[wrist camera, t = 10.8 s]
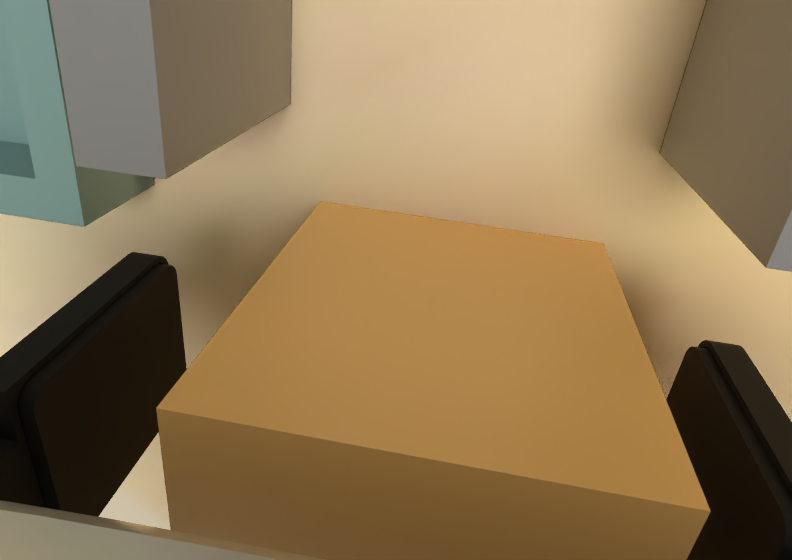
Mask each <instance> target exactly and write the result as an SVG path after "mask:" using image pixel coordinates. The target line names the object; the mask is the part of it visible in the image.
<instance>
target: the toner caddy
mask: <svg viewBox="0 0 792 560" xmlns="http://www.w3.org/2000/svg"><path fill="white" fill-rule="evenodd" d="M156 411H157V419H158V427H159V436H160V444H161V452H162V460H163V469H164V477H165V485H166V494H167V502H168V510H169V518H170V527H171V530H172V531H177V532H182V533H188V534H193V535H198V536H204V537H209V538H214V539H220V540H225V541H230V542H236V543H241V544H246V545H252V546H257V547H262V548H268V549H273V550H278V551H283V552H288V553H294V554H299V555H304V556H309V557H314V558H320V559H325V560H687V558H688V556H689V554H690V552H691V550H692V548H693V546H694V544H695V542H696V540H697V538H698V536H699V534H700V532H701V530H702V528H703V526H704V524H705V522H706V520H707V518H708V516H709V514H710V512H711V511H710V508H709V506H708V503H707V501H706V498H705V496H704V493H703V491H702V488H701V486H700V483H699V481H698V478H697V476H696V473H695V471H694V468H693V466H692V463H691V461H690V458H689V456H688V453H687V451H686V448H685V446H684V443H683V441H682V438H681V436H680V433H679V431H678V428H677V426H676V423H675V421H674V418H673V416H672V413H671V411H670V408H669V406H668V403H667V401H666V398H665V396H664V393H663V391H662V388H661V386H660V383H659V381H658V378H657V376H656V373H655V371H654V368H653V366H652V363H651V361H650V358H649V356H648V353H647V351H646V348H645V346H644V343H643V341H642V338H641V336H640V333H639V331H638V328H637V326H636V323H635V321H634V318H633V316H632V313H631V311H630V308H629V306H628V303H627V301H626V298H625V296H624V293H623V291H622V288H621V286H620V283H619V281H618V278H617V276H616V273H615V271H614V268H613V266H612V263H611V261H610V258H609V256H608V253H607V251H606V248H605V246H604V244H603V243H596V242H589V241H583V240H576V239H569V238H563V237H556V236H549V235H542V234H536V233H529V232H522V231H516V230H509V229H502V228H496V227H489V226H482V225H475V224H469V223H462V222H455V221H449V220H442V219H435V218H428V217H422V216H415V215H408V214H402V213H395V212H388V211H382V210H375V209H368V208H361V207H355V206H348V205H341V204H335V203H328V202H320V203H319V204H318V205H317V207H316V208H315V209H314V210H313V212H312V213H311V214H310V215H309V217H308V218H307V219H306V220H305V222H304V223H303V224H302V225H301V227H300V228H299V229H298V230H297V232H296V233H295V234H294V235H293V237H292V238H291V239H290V240H289V242H288V243H287V244H286V246H285V247H284V248H283V249H282V251H281V252H280V253H279V254H278V256H277V257H276V258H275V259H274V261H273V262H272V263H271V264H270V266H269V267H268V268H267V269H266V271H265V272H264V273H263V274H262V276H261V277H260V278H259V279H258V281H257V282H256V283H255V284H254V286H253V287H252V288H251V289H250V291H249V292H248V293H247V295H246V296H245V297H244V298H243V300H242V301H241V302H240V303H239V305H238V306H237V307H236V308H235V310H234V311H233V312H232V313H231V315H230V316H229V317H228V318H227V320H226V321H225V322H224V323H223V325H222V326H221V327H220V328H219V330H218V331H217V332H216V333H215V335H214V336H213V337H212V339H211V340H210V341H209V342H208V344H207V345H206V346H205V347H204V349H203V350H202V351H201V352H200V354H199V355H198V356H197V357H196V359H195V360H194V361H193V362H192V364H191V365H190V366H189V367H188V369H187V370H186V371H185V372H184V374H183V375H182V376H181V377H180V379H179V380H178V381H177V382H176V384H175V385H174V386H173V388H172V389H171V390H170V391H169V393H168V394H167V395H166V396H165V398H164V399H163V400H162V401H161V403H160V404H159V405H158V406H157V408H156Z"/></svg>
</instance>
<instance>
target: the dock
mask: <svg viewBox="0 0 792 560" xmlns="http://www.w3.org/2000/svg"><path fill="white" fill-rule="evenodd" d="M49 4H50V10H51V16H52V22H53V28H54V34H55V40H56V46H57V52H58V58H59V64H60V70H61V76H62V83H63V89H64V95H65V101H66V107H67V113H68V119H69V125H70V131H71V137H72V143H73V149H74V155H75V162H76V166H80V167H86V168H93V169H100V170H107V171H114V172H120V173H127V174H134V175H141V176H147V177H154V178H161V179H167V178H169V177H170V176H172V175H174V174H175V173H177V172H179V171H180V170H182V169H184V168H185V167H187V166H189V165H190V164H192V163H194V162H195V161H197V160H199V159H200V158H202V157H204V156H205V155H207V154H208V153H210V152H212V151H213V150H215V149H217V148H218V147H220V146H222V145H223V144H225V143H227V142H228V141H230V140H232V139H233V138H235V137H237V136H238V135H240V134H242V133H243V132H245V131H246V130H248V129H250V128H251V127H253V126H255V125H256V124H258V123H260V122H261V121H263V120H265V119H266V118H268V117H270V116H271V115H273V114H275V113H276V112H278V111H280V110H281V109H283V108H285V107H286V106H288V105H289V104H290V100H291V10H292V0H49ZM660 154H661V155H662V156H663V157H664V158H665V159H666V160H667V161H668V162H669V163H670V165H671V166H672V167H673V168H674V169H675V170H676V171H677V172H678V173H679V174H680V175H681V176H682V178H683V179H684V180H685V181H686V182H687V183H688V184H689V185H690V186H691V187H692V188H693V189H694V191H695V192H696V193H697V194H698V195H699V196H700V197H701V198H702V199H703V200H704V201H705V202H706V204H707V205H708V206H709V207H710V208H711V209H712V210H713V211H714V212H715V213H716V214H717V215H718V216H719V218H720V219H721V220H722V221H723V222H724V223H725V224H726V225H727V226H728V227H729V228H730V229H731V231H732V232H733V233H734V234H735V235H736V236H737V237H738V238H739V239H740V240H741V241H742V242H743V244H744V245H745V246H746V247H747V248H748V249H749V250H750V251H751V252H752V253H753V254H754V255H755V257H756V258H757V259H758V260H759V261H760V262H761V263H762V264H763V265H764V266H765V267H766V268H770V269H777V270H784V271H791V272H792V0H707V3H706V6H705V9H704V13H703V16H702V19H701V22H700V25H699V29H698V32H697V35H696V38H695V41H694V45H693V48H692V51H691V54H690V57H689V61H688V64H687V67H686V70H685V73H684V77H683V80H682V83H681V86H680V89H679V93H678V96H677V99H676V102H675V105H674V109H673V112H672V115H671V118H670V121H669V125H668V128H667V131H666V134H665V138H664V141H663V144H662V147H661V150H660Z"/></svg>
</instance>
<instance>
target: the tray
mask: <svg viewBox="0 0 792 560" xmlns="http://www.w3.org/2000/svg"><path fill="white" fill-rule="evenodd" d="M153 185H154V178H153V177H147V176H141V175H134V174H127V173H120V172H114V171H107V170H100V169H93V168H86V167H80V166H76V162H75V155H74V149H73V143H72V137H71V131H70V125H69V119H68V113H67V107H66V101H65V95H64V89H63V83H62V76H61V70H60V64H59V58H58V52H57V46H56V40H55V34H54V28H53V22H52V16H51V10H50V4H49V0H0V213H1V214H7V215H13V216H20V217H26V218H32V219H39V220H45V221H51V222H58V223H64V224H70V225H77V226H83V227H85V226H86V225H88V224H90V223H91V222H93V221H95V220H96V219H98V218H100V217H101V216H103V215H105V214H106V213H108V212H110V211H111V210H113V209H115V208H116V207H118V206H120V205H121V204H123V203H125V202H126V201H128V200H130V199H131V198H133V197H135V196H136V195H138V194H140V193H141V192H143V191H145V190H146V189H148V188H150V187H151V186H153Z"/></svg>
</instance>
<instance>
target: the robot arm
mask: <svg viewBox="0 0 792 560" xmlns="http://www.w3.org/2000/svg"><path fill="white" fill-rule="evenodd" d="M185 371H186V361H185V351H184V341H183V331H182V321H181V312H180V302H179V292H178V282H177V273H176V270H175V268H174V267H173V266H170V265H168V262H167V260H166V259H165V258H164V257H162V256H155V255H149V254H142V253H136V252H132V253H130V254H128V255H127V256H126V257H125V258H123V259H122V260H121V261H120V262H118V263H117V264H116V265H115V266H113V267H112V268H111V269H110V270H108V271H107V272H106V273H105V274H103V275H102V276H101V277H100V278H98V279H97V280H96V281H95V282H93V283H92V284H91V285H90V286H88V287H87V288H86V289H85V290H83V291H82V292H81V293H80V294H78V295H77V296H76V297H75V298H74V299H72V300H71V301H70V302H69V303H67V304H66V305H65V306H64V307H62V308H61V309H60V310H59V311H57V312H56V313H55V314H54V315H52V316H51V317H50V318H49V319H47V320H46V321H45V322H44V323H42V324H41V325H40V326H39V327H37V328H36V329H35V330H34V331H32V332H31V333H30V334H29V335H27V336H26V337H25V338H24V339H22V340H21V341H20V342H19V343H17V344H16V345H15V346H14V347H13V348H11V349H10V350H9V351H8V352H6V353H5V354H4V355H3V356H1V357H0V560H325V559H320V558H314V557H309V556H304V555H299V554H294V553H288V552H283V551H278V550H273V549H268V548H262V547H257V546H252V545H246V544H241V543H236V542H230V541H225V540H220V539H214V538H209V537H204V536H198V535H193V534H188V533H182V532H177V531H172V530H166V529H161V528H156V527H150V526H145V525H140V524H134V523H129V522H124V521H118V520H113V519H108V518H102V517H98V516H99V515H100V513H101V512H102V510H103V509H104V508H105V506H106V505H107V504H108V502H109V501H110V499H111V498H112V497H113V495H114V494H115V492H116V491H117V489H118V488H119V487H120V485H121V484H122V482H123V481H124V480H125V478H126V477H127V475H128V474H129V473H130V471H131V470H132V468H133V467H134V466H135V464H136V463H137V461H138V460H139V459H140V457H141V456H142V454H143V453H144V452H145V450H146V449H147V447H148V446H149V444H150V443H151V442H152V440H153V439H154V437H155V436H156V435H157V433H158V432H159V427H158V419H157V411H156V408H157V406H158V405H159V404H160V403H161V401H162V400H163V399H164V398H165V396H166V395H167V394H168V393H169V391H170V390H171V389H172V388H173V386H174V385H175V384H176V382H177V381H178V380H179V379H180V377H181V376H182V375H183V374H184V372H185ZM666 401H667V403H668V406H669V408H670V411H671V413H672V416H673V418H674V421H675V423H676V426H677V428H678V431H679V433H680V436H681V438H682V441H683V443H684V446H685V448H686V451H687V453H688V456H689V458H690V461H691V463H692V466H693V468H694V471H695V473H696V476H697V478H698V481H699V483H700V486H701V488H702V491H703V493H704V496H705V498H706V501H707V503H708V506H709V508H710V511H711V512H710V514H709V516H708V518H707V520H706V522H705V524H704V526H703V528H702V530H701V532H700V534H699V536H698V538H697V540H696V542H695V544H694V546H693V548H692V550H691V552H690V554H689V556H688V558H687V560H792V422H791V421H790V419H789V417H788V416H787V414H786V413H785V411H784V410H783V408H782V407H781V405H780V404H779V402H778V401H777V399H776V397H775V396H774V394H773V393H772V391H771V390H770V388H769V387H768V385H767V384H766V382H765V381H764V379H763V377H762V376H761V374H760V373H759V371H758V370H757V368H756V367H755V365H754V364H753V362H752V361H751V359H750V357H749V356H748V354H747V353H746V351H745V350H744V349H743V348H742V347H741V346H739V345H733V344H727V343H720V342H714V341H707V340H705V341H702V342H701V343H700V344H699V346H698V347H690V348H689V349H688V350H687V352H686V354H685V356H684V358H683V361H682V363H681V366H680V368H679V371H678V373H677V375H676V378H675V380H674V383H673V385H672V388H671V390H670V392H669V395H668V397H667V400H666Z"/></svg>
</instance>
